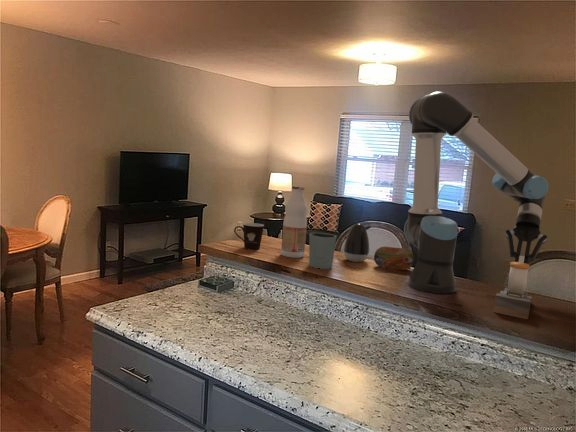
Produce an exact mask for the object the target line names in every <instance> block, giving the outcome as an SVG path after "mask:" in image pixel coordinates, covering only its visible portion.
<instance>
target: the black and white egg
mask: <svg viewBox="0 0 576 432" xmlns="http://www.w3.org/2000/svg"><path fill="white" fill-rule="evenodd" d="M370 228H371V225H367V226H364V224H362V223H359V222H358V223H355V224H353V225H352V226H351V228H350V229H349V231H348V234H347V235H346V239H345V240H344V241H345V242H344V245H343V252H344V256H345V259H347V260H349V261H350V262H353V263H362V262H364V261H366V259H367V258H368V256H369V254H370V239H369V236H368V231H367V230H369V229H370Z"/></svg>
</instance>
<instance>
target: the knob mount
mask: <svg viewBox="0 0 576 432" xmlns="http://www.w3.org/2000/svg"><path fill="white" fill-rule="evenodd" d="M528 292H529V291H526V290H525V293H524V294H522V298H519V297H520V296H517V295H512V294H508V293H509V291H508V290H507V287H504V290H500V292H499V293H498V292H497V293H496V294H495V299H494V306H493V313H496V314H501V315H505V316H510V317H515V318H518V319H519V318H520V319H525V320H529V313H530V309H531V303H532V296H528V295H529V293H528Z"/></svg>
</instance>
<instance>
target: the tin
mask: <svg viewBox="0 0 576 432" xmlns="http://www.w3.org/2000/svg"><path fill="white" fill-rule="evenodd" d="M373 260H374V262H375V264H376V265H377V266H378V267H379V268H382V269H387V270H388V269H390V270H398V271H407V270H409V269H410V268H411V267H413V265H414V262H415V255H414V254H413V252H412V251H411V250H409V249H408V248H405V247H404V248H403V247H394V246H386V245H385V246H381V247H378V248H377V249H376V250H375V252H374V255H373Z"/></svg>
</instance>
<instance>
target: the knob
mask: <svg viewBox="0 0 576 432" xmlns="http://www.w3.org/2000/svg"><path fill="white" fill-rule="evenodd" d="M530 266H531V265H530V264H529V263H528V264H526V263H521V262H515V261H510V262H509V275H508V280H507V282H508V283H507V287H506V288H507V290H508V292H509V293H508V294H512V295H517V296H520V297H519V298H522V295H524V293H525V291H526V289H527V280H528V273H529V269H530Z"/></svg>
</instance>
